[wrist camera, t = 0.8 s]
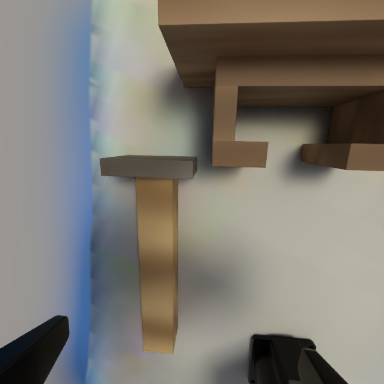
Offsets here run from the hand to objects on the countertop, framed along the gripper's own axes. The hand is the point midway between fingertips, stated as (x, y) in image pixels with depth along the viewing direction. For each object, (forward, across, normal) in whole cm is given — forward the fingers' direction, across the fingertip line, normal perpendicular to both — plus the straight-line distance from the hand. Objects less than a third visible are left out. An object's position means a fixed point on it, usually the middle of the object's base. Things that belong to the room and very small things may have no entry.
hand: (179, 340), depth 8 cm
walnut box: (+12, -6, -9) cm, 17 cm away
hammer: (+12, +3, +4) cm, 14 cm away
